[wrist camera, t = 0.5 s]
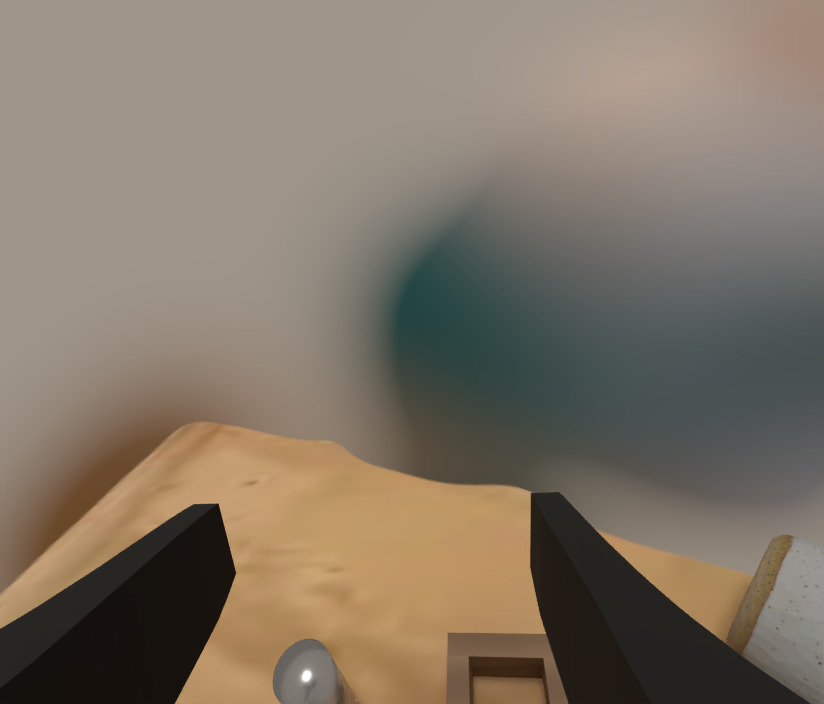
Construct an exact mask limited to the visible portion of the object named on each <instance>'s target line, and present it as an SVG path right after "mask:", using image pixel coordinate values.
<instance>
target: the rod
mask: <svg viewBox="0 0 824 704" xmlns="http://www.w3.org/2000/svg"><path fill="white" fill-rule="evenodd" d="M273 689H274V693H275V696H276V697H277V699H278V700H279V701H280V703H281V704H360V702H359V700H358V699H357V697H356V696H355V694H354V692H353V691H352V689H351V688H350V686H349V684H348V683H347V681H346V679H345V678H344V676H343V675H342V673H341V671H340V670H339V668H338V667H337V665H336V663H335V662H334V660H333V658H332V657H331V655H330V654H329V652H328V650H327V649H326V647H325V646H324V645H323V644H322V643H321V642H319V641H317V640H314V639H304V640H301V641H298V642H296V643H294V644H293V645H292V646H290V647H289V648H288V649H287V650H286V651H285V652H284V653H283V655H282V656H281V657H280V659H279V661H278V663H277V665H276V668H275V671H274V675H273Z"/></svg>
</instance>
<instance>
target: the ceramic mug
mask: <svg viewBox="0 0 824 704" xmlns="http://www.w3.org/2000/svg"><path fill="white" fill-rule="evenodd" d="M727 644H728V646H729V647H730V648H732V649H733V650H734V651H736V652H737V653H739V654H740V655H741V656H743V657H744V658H745V659H747V660H748V661H750V662H751V663H752V664H754V665H755V666H757V667H758V668H759V669H761V670H762V671H764V672H765V673H767V674H768V675H769V676H771V677H772V678H774V679H775V680H777V681H778V682H780V683H781V684H783V685H784V686H786V687H787V688H788V689H790V690H791V691H793V692H794V693H796V694H797V695H799V696H800V697H802V698H803V699H805V700H806V701H807V702H809V703H810V704H824V546H823V545H820V544H817V543H814V542H810V541H807V540H804V539H800V538H797V537H793V536H789V535H782V536H778V537H775V538H773V539H772V541H771V542H770V544H769V546H768V548H767V550H766V552H765V554H764V556H763V557H762V560H761V562H760V564H759V567H758V569H757V571H756V573H755V575H754V578H753V580H752V582H751V584H750V586H749V588H748V591H747V593H746V595H745V597H744V599H743V601H742V604H741V606H740V608H739V611H738V613H737V615H736V617H735V620H734V622H733V624H732V626H731V629H730V631H729V634H728V637H727Z"/></svg>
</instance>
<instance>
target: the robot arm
mask: <svg viewBox="0 0 824 704" xmlns="http://www.w3.org/2000/svg"><path fill="white" fill-rule="evenodd" d="M530 568H531V573H532V578H533V583H534V588H535V593H536V597H537V602H538V607H539V611H540V616H541V619H542V622H543V625H544V628H545V632H546V635H547V638H548V641H549V644H550V647H551V651H552V654H553V657H554V660H555V663H556V666H557V669H558V672H559V676H560V679H561V682H562V685H563V688H564V691H565V694H566V697H567V701H568V704H810V703H809V702H807V701H806V700H805V699H803V698H802V697H800V696H799V695H797V694H796V693H794V692H793V691H791V690H790V689H788V688H787V687H786V686H784V685H783V684H781V683H780V682H778V681H777V680H775V679H774V678H772V677H771V676H769V675H768V674H767V673H765V672H764V671H762V670H761V669H759V668H758V667H757V666H755V665H754V664H752V663H751V662H750V661H748V660H747V659H745V658H744V657H743V656H741V655H740V654H739V653H737V652H736V651H734V650H733V649H732V648H730V647H729V646H728V645H727V644H725V643H724V642H723V641H721V640H720V639H719V638H717V637H716V636H715V635H714V634H712V633H711V632H710V631H708V630H707V629H706V628H704V627H703V626H702V625H701V624H699V623H698V622H697V621H695V620H694V619H693V618H692V617H690V616H689V615H688V614H687V613H685V612H684V611H683V610H682V609H680V608H679V607H678V606H677V605H676V604H674V603H673V602H672V601H671V600H670V599H669V598H667V597H666V596H665V595H664V594H663V593H662V592H661V591H659V590H658V589H657V588H656V587H655V586H654V585H653V584H651V583H650V582H649V581H648V580H647V579H646V578H645V577H644V576H643V575H642V574H640V573H639V572H638V571H637V570H636V569H635V568H634V567H633V566H632V565H631V564H630V563H629V562H628V561H627V560H626V559H625V558H623V557H622V556H621V555H620V554H619V553H618V552H617V551H616V550H615V549H614V548H613V547H612V546H611V545H610V544H609V543H608V542H607V541H606V540H605V539H604V538H603V537H602V536H601V535H600V534H599V533H598V532H597V531H596V530H595V529H594V528H593V527H592V526H591V525H590V524H589V523H588V522H587V521H586V520H585V519H584V518H583V516H582V515H581V514H580V513H579V512H578V511H577V510H576V509H575V508H574V507H573V506H572V505H571V504H570V503H569V502H568V501H567V499H566V498H565V497H564V496H563V495H561V494H560V493H559V492H553V493H552V492H551V493H531V546H530ZM235 575H236V571H235V567H234V563H233V559H232V555H231V551H230V547H229V543H228V539H227V535H226V531H225V527H224V523H223V519H222V516H221V512H220V508H219V504H193V505H192V506H190V507H188V508H187V509H185V510H183V511H182V512H180V513H178V514H177V515H175V516H174V517H172V518H171V519H169V520H168V521H166V522H165V523H163V524H162V525H160V526H159V527H157V528H156V529H154V530H153V531H151V532H150V533H148V534H147V535H145V536H144V537H142V538H141V539H140V540H138V541H137V542H135V543H134V544H132V545H131V546H129V547H128V548H126V549H125V550H123V551H122V552H120V553H119V554H118V555H116V556H115V557H113V558H112V559H110V560H109V561H107V562H106V563H104V564H103V565H101V566H100V567H98V568H97V569H95V570H94V571H92V572H91V573H89V574H88V575H86V576H84V577H83V578H81V579H80V580H78V581H77V582H75V583H74V584H72V585H70V586H69V587H67V588H66V589H64V590H63V591H61V592H60V593H58V594H56V595H55V596H53V597H52V598H50V599H49V600H47V601H46V602H44V603H42V604H41V605H39V606H38V607H36V608H34V609H33V610H31V611H30V612H28V613H26V614H25V615H23V616H21V617H20V618H18V619H16V620H15V621H13V622H11V623H9V624H8V625H6V626H4V627H3V628H1V629H0V704H175V702H176V700H177V698H178V697H179V695H180V693H181V691H182V689H183V687H184V685H185V683H186V681H187V679H188V678H189V676H190V674H191V672H192V670H193V668H194V666H195V664H196V662H197V660H198V659H199V657H200V655H201V653H202V651H203V649H204V647H205V645H206V643H207V641H208V639H209V637H210V635H211V633H212V632H213V630H214V628H215V626H216V624H217V622H218V620H219V617H220V615H221V612H222V610H223V607H224V605H225V602H226V600H227V597H228V594H229V592H230V589H231V586H232V583H233V581H234V578H235Z"/></svg>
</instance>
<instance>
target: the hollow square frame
mask: <svg viewBox="0 0 824 704" xmlns="http://www.w3.org/2000/svg"><path fill="white" fill-rule="evenodd" d="M473 676H506V677H540V678H543V680H544V687H545V694H546V701H547V704H568V701H567V697H566V694H565V691H564V688H563V685H562V682H561V679H560V676H559V672H558V669H557V666H556V663H555V660H554V657H553V654H552V651H551V647H550V644H549V641H548V638H547V635H546V634H495V633H448V669H447V704H473Z"/></svg>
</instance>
